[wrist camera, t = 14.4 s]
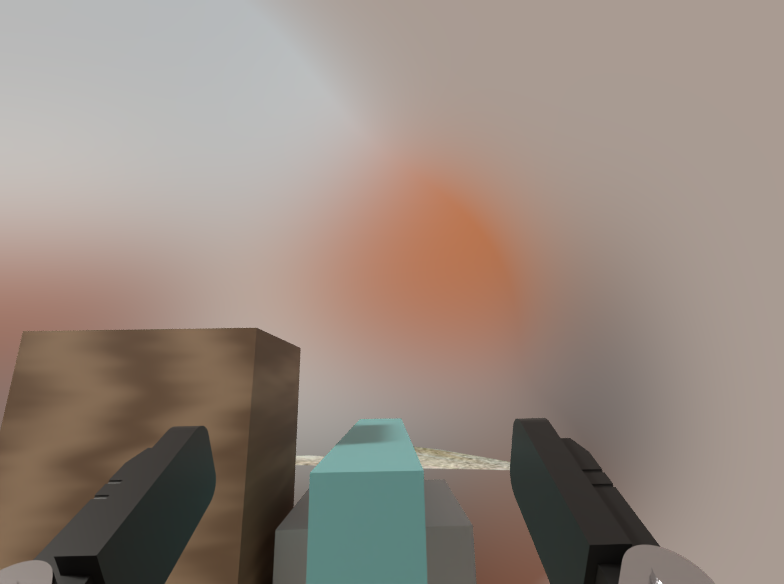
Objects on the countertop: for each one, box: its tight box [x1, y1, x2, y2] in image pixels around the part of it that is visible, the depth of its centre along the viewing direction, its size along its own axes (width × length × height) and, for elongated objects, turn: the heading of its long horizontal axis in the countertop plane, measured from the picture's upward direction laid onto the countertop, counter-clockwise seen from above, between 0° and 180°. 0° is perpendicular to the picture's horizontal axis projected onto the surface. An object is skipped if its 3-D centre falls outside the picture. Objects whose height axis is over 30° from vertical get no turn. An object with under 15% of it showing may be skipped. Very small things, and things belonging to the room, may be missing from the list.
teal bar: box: [306, 419, 427, 584], centre depth 24 cm, size 4×24×4 cm, turn 0°
